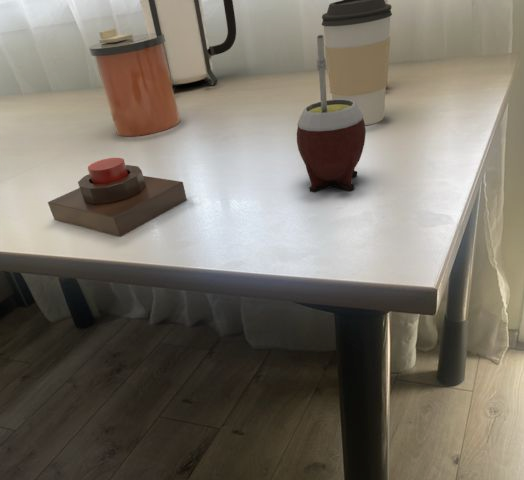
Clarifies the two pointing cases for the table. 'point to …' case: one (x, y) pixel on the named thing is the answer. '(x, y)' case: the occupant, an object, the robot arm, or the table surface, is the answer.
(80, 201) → the button base
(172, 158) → the table surface
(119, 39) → the slider
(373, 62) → the coffee cup
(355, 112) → the mate gourd
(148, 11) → the coffee press
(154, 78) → the tumbler
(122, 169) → the button
